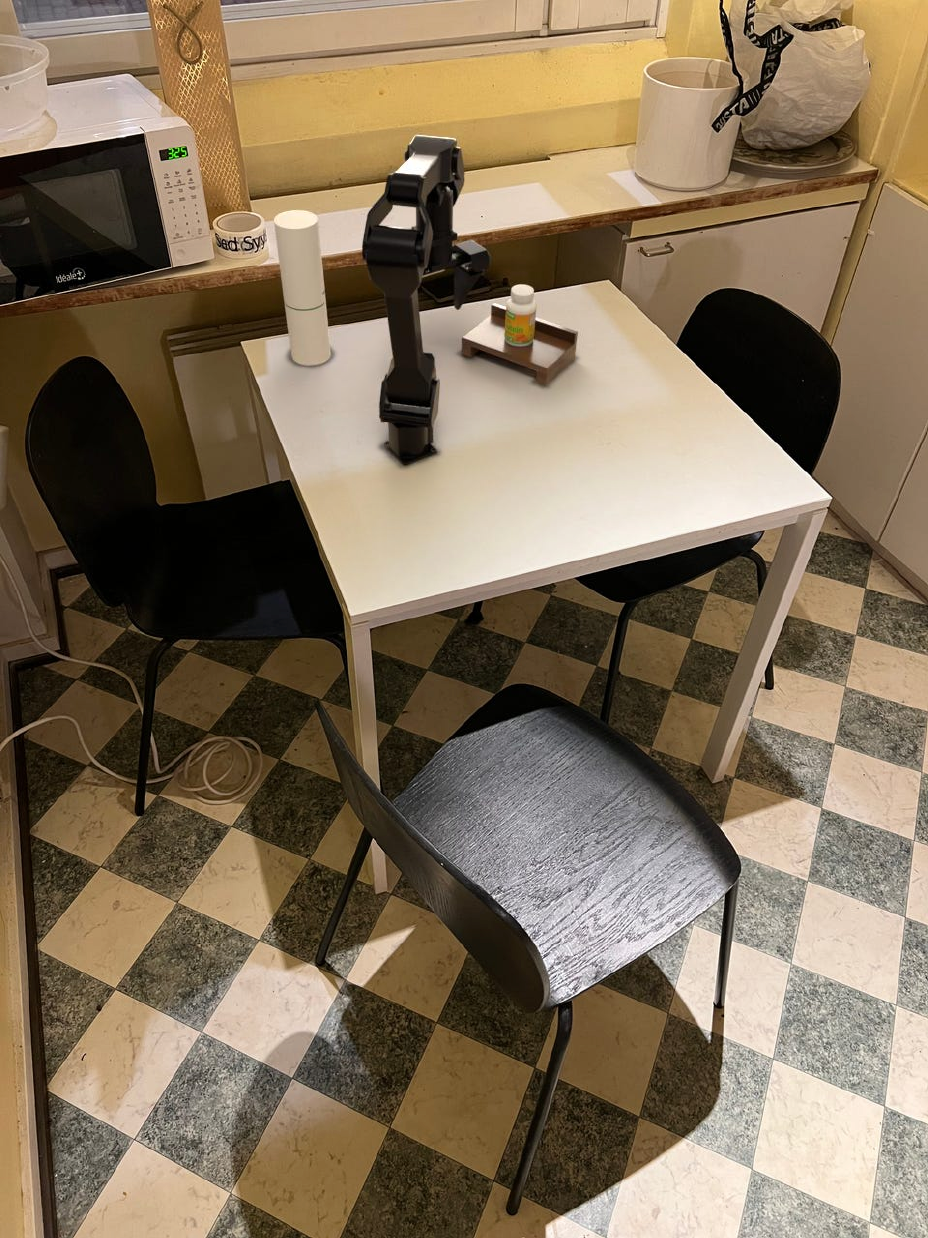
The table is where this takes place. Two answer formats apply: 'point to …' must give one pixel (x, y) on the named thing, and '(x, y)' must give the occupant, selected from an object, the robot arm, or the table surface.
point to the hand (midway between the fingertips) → (434, 316)
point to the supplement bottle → (520, 316)
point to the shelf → (542, 355)
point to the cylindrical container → (303, 286)
